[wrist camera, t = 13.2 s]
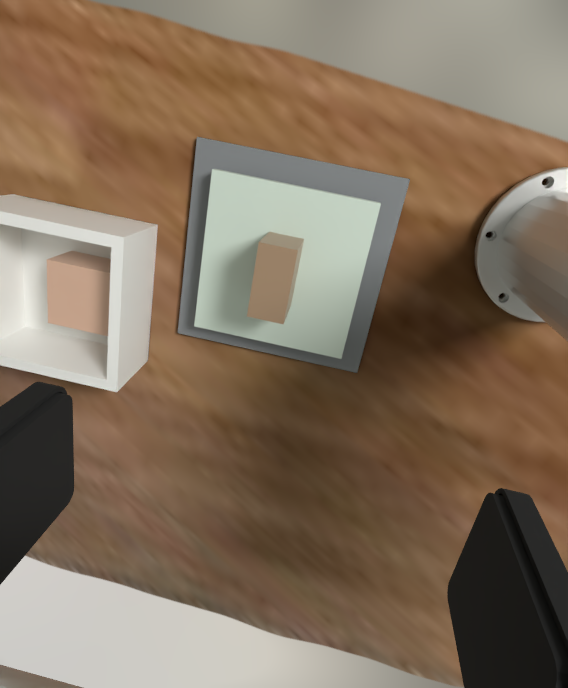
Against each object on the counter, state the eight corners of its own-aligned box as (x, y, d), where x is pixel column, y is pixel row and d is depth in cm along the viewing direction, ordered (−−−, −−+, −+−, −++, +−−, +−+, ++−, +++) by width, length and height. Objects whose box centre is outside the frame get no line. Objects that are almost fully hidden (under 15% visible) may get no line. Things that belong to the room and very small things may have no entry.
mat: (409, 179, 39) (409, 179, 38) (357, 370, 46) (357, 373, 45) (198, 137, 40) (196, 136, 39) (179, 331, 47) (177, 333, 46)
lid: (379, 201, 39) (385, 210, 33) (341, 351, 45) (340, 383, 39) (217, 168, 40) (193, 171, 34) (199, 319, 46) (175, 346, 39)
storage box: (157, 224, 43) (123, 237, 37) (147, 360, 49) (117, 392, 42) (13, 194, 44) (-45, 201, 37) (19, 331, 49) (-30, 358, 43)
